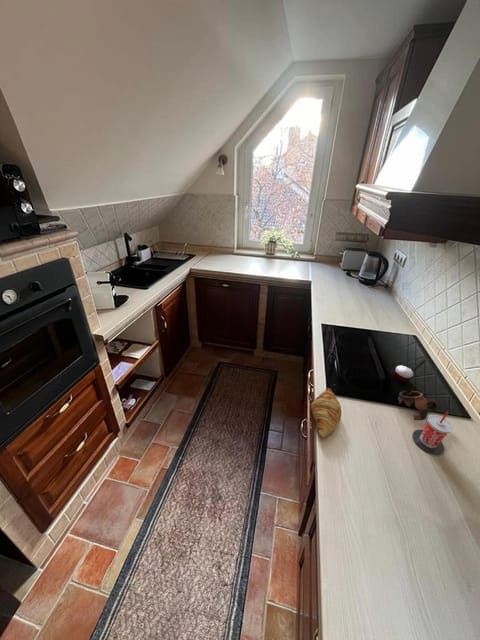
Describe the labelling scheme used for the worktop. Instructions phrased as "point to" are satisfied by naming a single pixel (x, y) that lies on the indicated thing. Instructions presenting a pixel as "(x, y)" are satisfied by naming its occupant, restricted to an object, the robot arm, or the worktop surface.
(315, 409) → the croissant
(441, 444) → the slate coaster
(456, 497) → the worktop surface
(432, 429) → the beverage cup
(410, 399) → the pottery mug
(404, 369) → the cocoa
